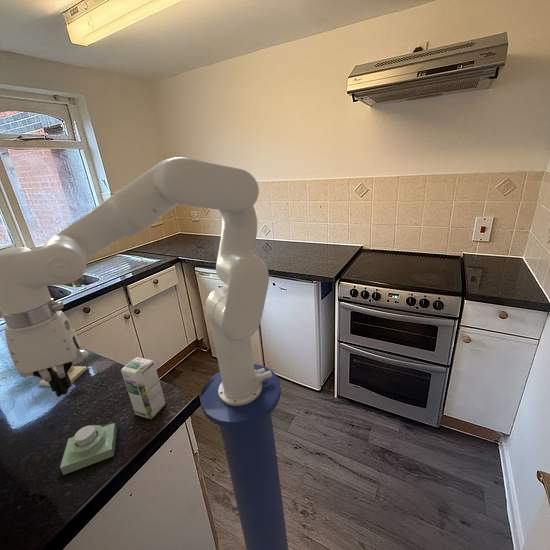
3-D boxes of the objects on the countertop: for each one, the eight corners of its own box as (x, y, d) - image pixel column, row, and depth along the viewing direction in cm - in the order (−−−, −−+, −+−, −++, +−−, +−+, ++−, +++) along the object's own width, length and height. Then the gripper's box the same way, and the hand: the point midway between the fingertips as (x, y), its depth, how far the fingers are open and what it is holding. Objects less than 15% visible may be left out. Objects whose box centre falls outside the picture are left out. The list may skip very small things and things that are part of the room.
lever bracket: (87, 369, 98) (75, 339, 94) (67, 386, 91) (53, 354, 87) (61, 368, 100) (48, 338, 96) (40, 385, 93) (25, 354, 88)
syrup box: (134, 415, 78) (118, 370, 73) (150, 398, 83) (137, 355, 78) (151, 420, 76) (136, 374, 70) (167, 403, 81) (154, 359, 75)
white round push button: (98, 429, 70) (95, 422, 69) (95, 442, 67) (92, 436, 66) (79, 435, 69) (76, 429, 68) (75, 450, 65) (72, 443, 65)
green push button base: (117, 429, 74) (112, 417, 73) (114, 456, 67) (109, 443, 66) (71, 445, 71) (65, 432, 69) (63, 475, 64) (56, 462, 62)
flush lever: (92, 357, 92) (89, 348, 91) (84, 363, 89) (82, 354, 88) (54, 351, 94) (52, 343, 93) (45, 358, 91) (43, 349, 90)
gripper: (80, 297, 62) (105, 369, 68) (-9, 315, 57) (27, 391, 63) (72, 312, 55) (101, 390, 62) (-30, 334, 50) (13, 417, 57)
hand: (63, 391), depth 62 cm, fingers closed
